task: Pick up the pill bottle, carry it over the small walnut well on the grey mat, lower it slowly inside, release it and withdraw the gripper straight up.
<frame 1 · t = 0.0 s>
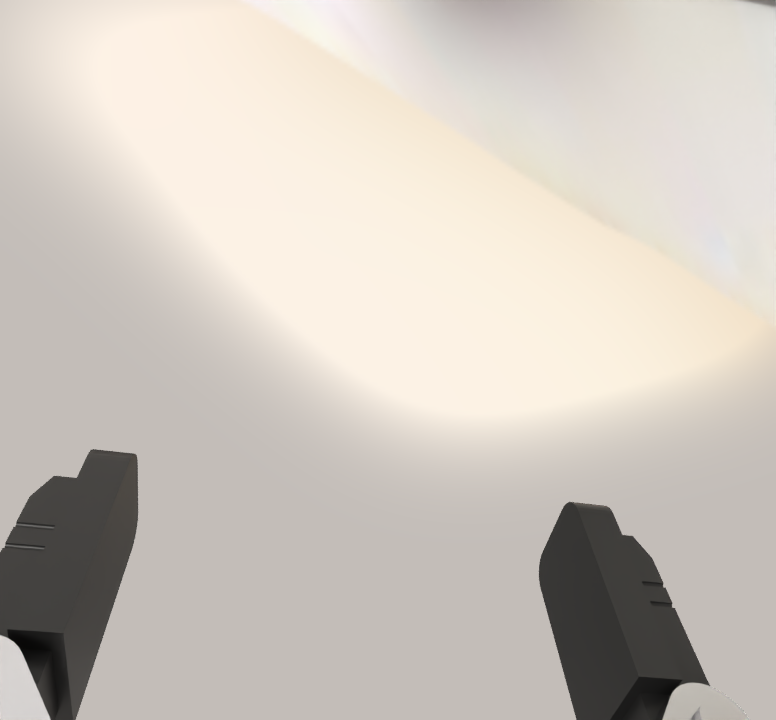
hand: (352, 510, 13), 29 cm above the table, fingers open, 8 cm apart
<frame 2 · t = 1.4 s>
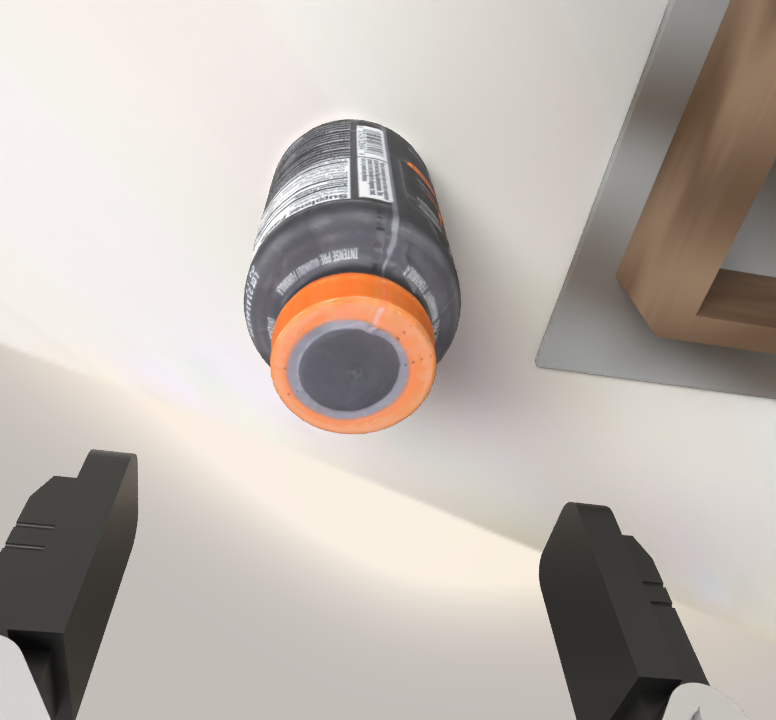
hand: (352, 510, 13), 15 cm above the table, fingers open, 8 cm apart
pill bottle: (352, 195, 26), on the table
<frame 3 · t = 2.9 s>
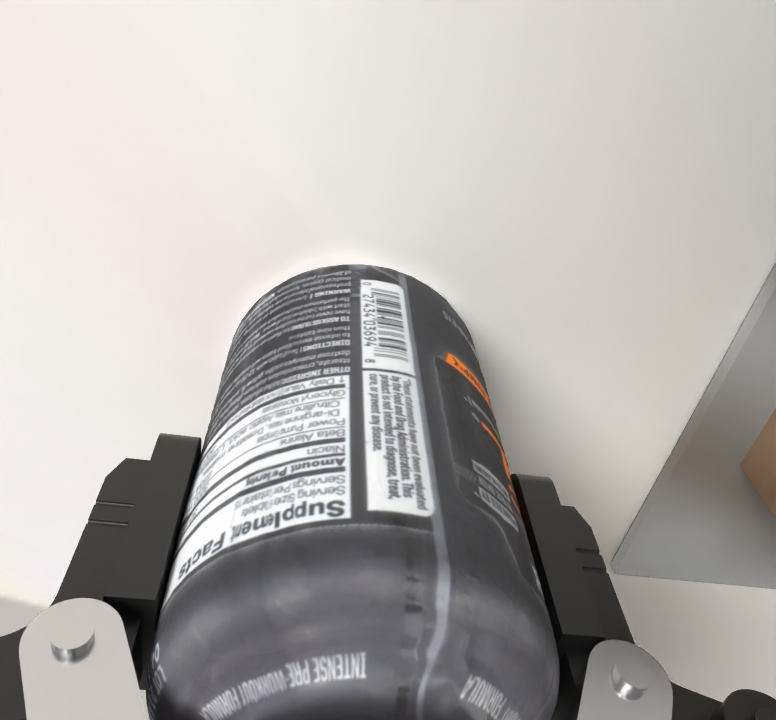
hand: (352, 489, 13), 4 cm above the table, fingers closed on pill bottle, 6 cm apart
pill bottle: (353, 362, 17), on the table, touching gripper
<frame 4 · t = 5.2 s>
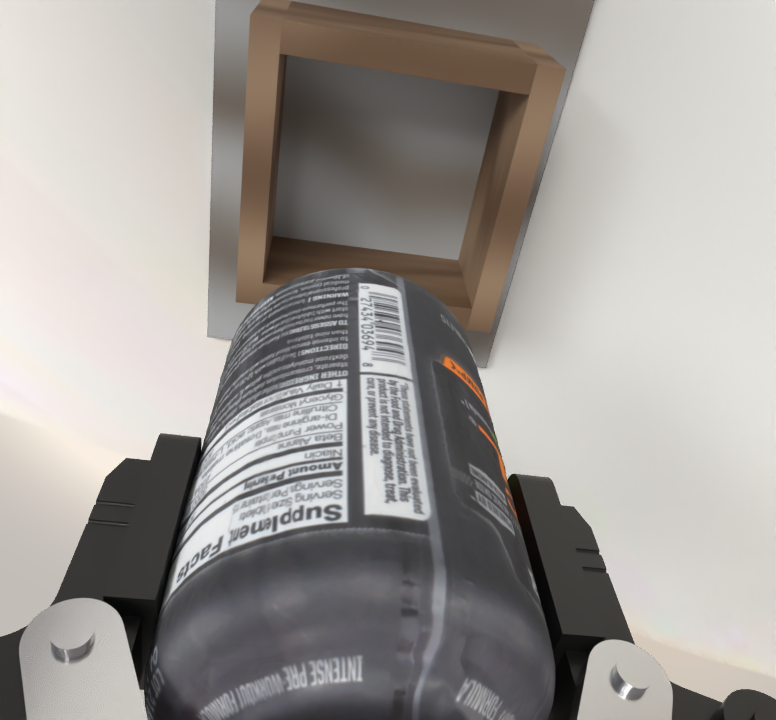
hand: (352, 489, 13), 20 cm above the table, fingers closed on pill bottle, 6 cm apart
well: (381, 153, 30), on the table
pill bottle: (351, 365, 17), point 15 cm above the table, touching gripper
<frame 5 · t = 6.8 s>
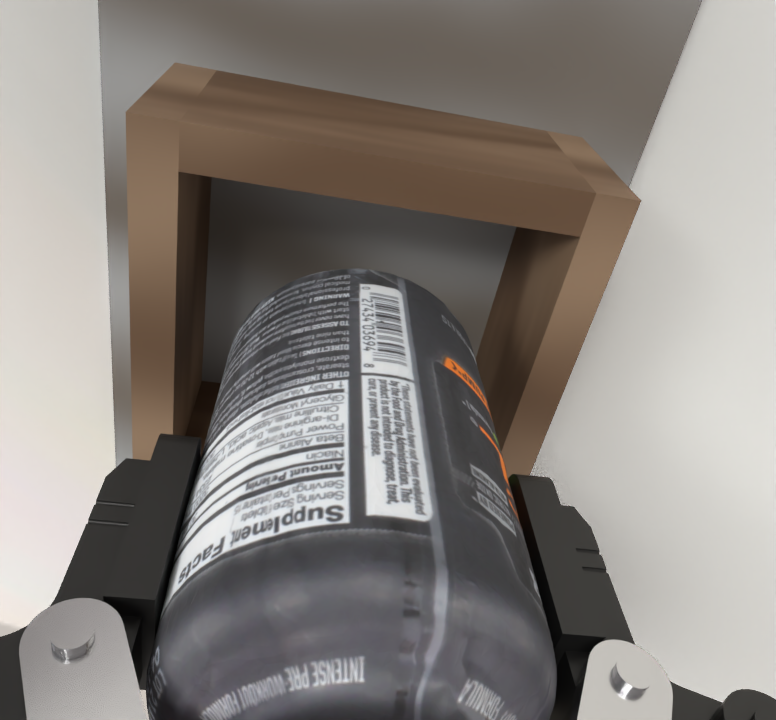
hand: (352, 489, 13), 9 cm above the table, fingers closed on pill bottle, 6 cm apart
well: (354, 276, 21), on the table
pill bottle: (352, 365, 17), point 5 cm above the table, touching gripper
when the fingers open (6 cm above the table, at t = 7.8 s): pill bottle drops 2 cm, resting on well.
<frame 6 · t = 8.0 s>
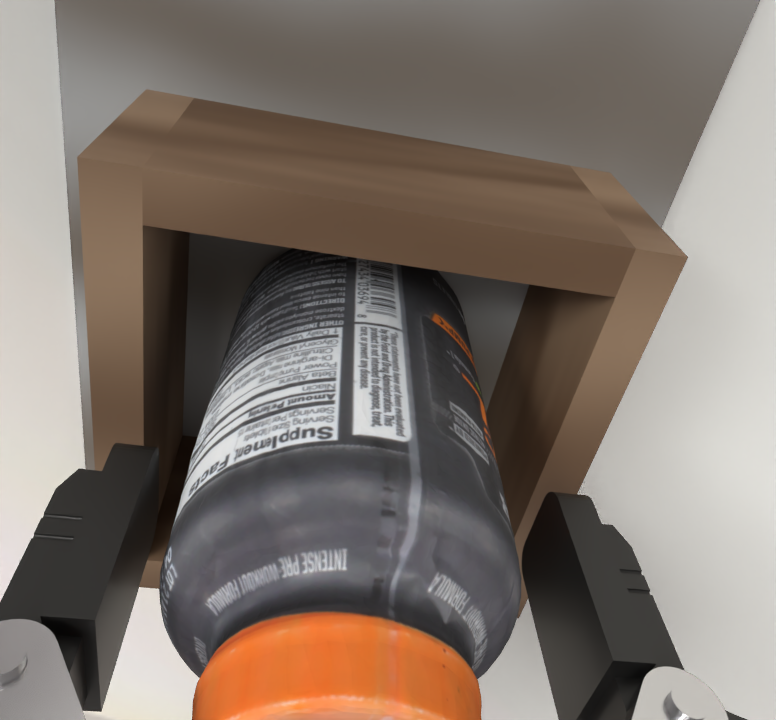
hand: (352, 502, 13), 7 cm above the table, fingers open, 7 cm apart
well: (351, 323, 19), on the table
pill bottle: (352, 328, 18), resting on well
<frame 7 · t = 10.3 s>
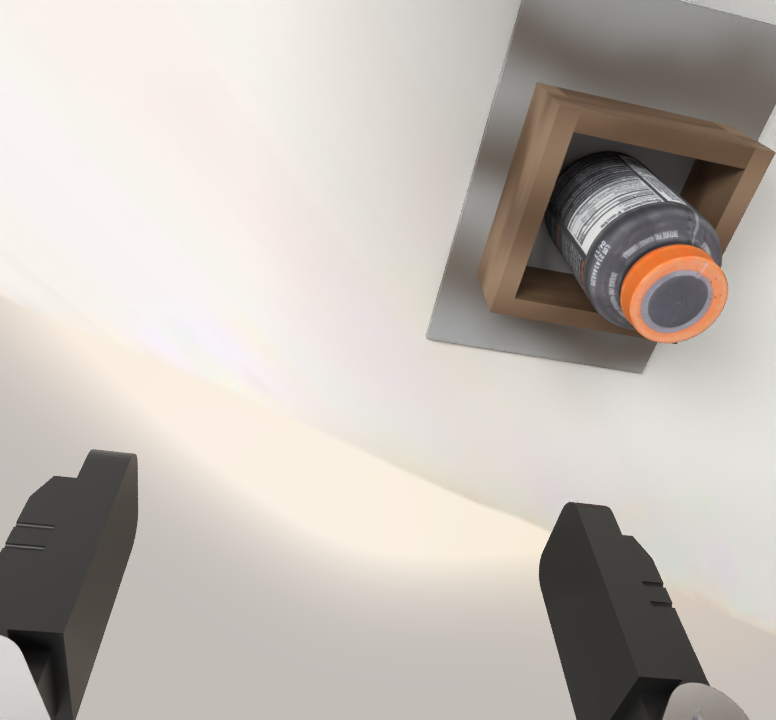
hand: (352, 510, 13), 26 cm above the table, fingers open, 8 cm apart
well: (594, 200, 38), on the table
pill bottle: (596, 201, 38), resting on well
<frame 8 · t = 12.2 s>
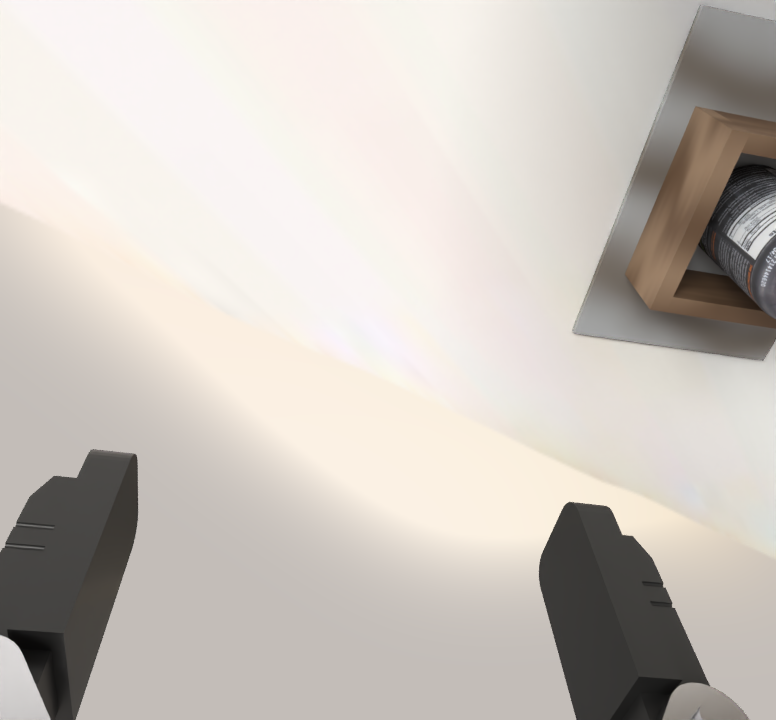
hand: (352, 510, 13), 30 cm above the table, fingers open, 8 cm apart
well: (735, 207, 42), on the table
pill bottle: (736, 208, 42), resting on well
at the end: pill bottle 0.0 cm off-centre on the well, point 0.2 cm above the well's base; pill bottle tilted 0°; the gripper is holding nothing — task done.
